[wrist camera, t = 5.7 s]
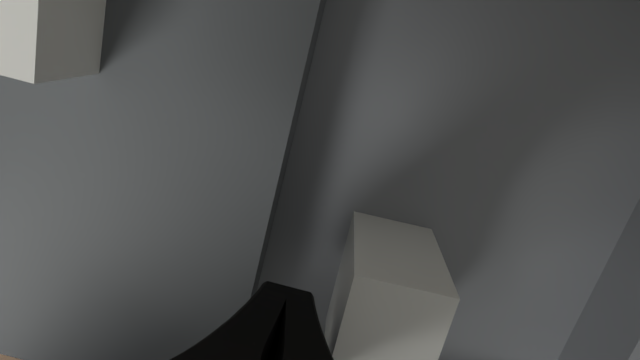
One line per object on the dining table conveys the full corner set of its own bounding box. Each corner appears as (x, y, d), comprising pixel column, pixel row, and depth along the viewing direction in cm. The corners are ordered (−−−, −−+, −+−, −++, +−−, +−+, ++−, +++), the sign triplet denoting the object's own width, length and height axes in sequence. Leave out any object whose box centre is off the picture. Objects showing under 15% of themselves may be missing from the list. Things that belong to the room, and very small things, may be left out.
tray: (528, 431, 17) (564, 510, 14) (241, 357, 17) (219, 423, 14) (761, -24, 12) (886, -41, 9) (359, -132, 12) (361, -184, 9)
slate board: (241, 357, 17) (224, 410, 15) (-77, 276, 17) (-148, 316, 14) (359, -132, 12) (361, -174, 10) (-91, -254, 12) (-202, -327, 10)
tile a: (326, 318, 16) (397, 334, 16) (317, 409, 12) (412, 430, 12) (353, 211, 14) (431, 229, 14) (354, 275, 11) (459, 299, 11)
